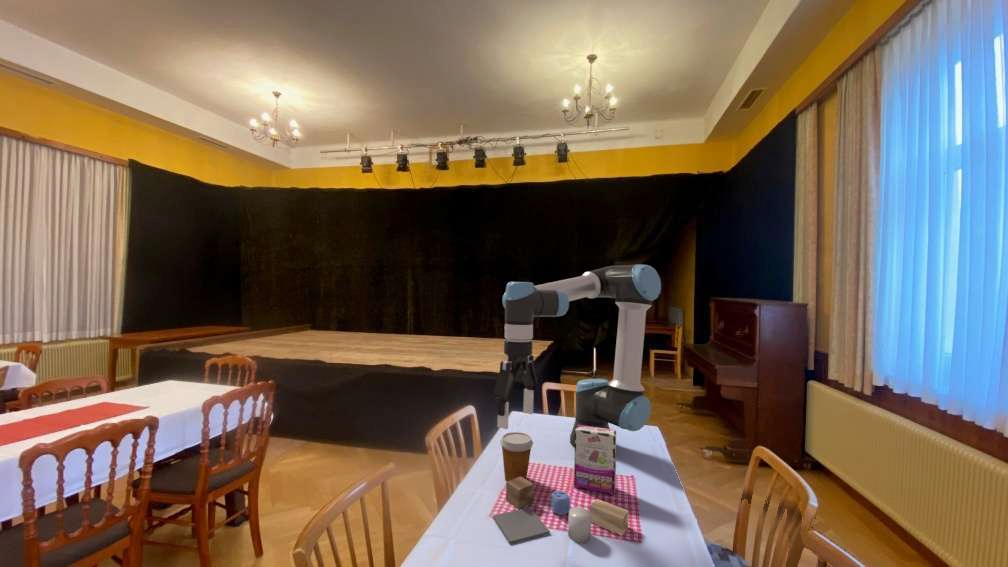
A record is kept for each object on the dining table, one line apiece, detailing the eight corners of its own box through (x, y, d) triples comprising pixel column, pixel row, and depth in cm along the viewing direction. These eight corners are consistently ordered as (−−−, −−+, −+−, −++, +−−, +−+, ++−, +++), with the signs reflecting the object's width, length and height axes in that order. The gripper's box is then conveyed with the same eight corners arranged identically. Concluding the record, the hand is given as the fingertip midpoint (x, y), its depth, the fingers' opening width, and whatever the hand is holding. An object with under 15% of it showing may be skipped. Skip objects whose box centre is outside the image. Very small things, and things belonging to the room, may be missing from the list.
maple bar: (596, 514, 94) (596, 498, 94) (628, 527, 89) (628, 510, 89) (589, 522, 91) (589, 506, 91) (622, 536, 86) (622, 518, 86)
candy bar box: (615, 487, 107) (617, 429, 107) (614, 496, 102) (616, 435, 103) (576, 479, 111) (577, 423, 111) (573, 487, 106) (574, 429, 106)
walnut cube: (520, 494, 102) (520, 476, 102) (532, 503, 98) (533, 484, 98) (505, 500, 99) (506, 481, 99) (518, 510, 95) (518, 490, 95)
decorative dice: (569, 515, 94) (570, 498, 94) (554, 515, 93) (554, 499, 93) (565, 505, 98) (565, 490, 98) (550, 506, 97) (550, 490, 97)
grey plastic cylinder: (582, 526, 89) (582, 505, 89) (595, 540, 84) (595, 517, 84) (564, 531, 87) (564, 510, 87) (576, 545, 82) (576, 522, 82)
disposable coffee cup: (529, 489, 105) (530, 446, 105) (496, 485, 107) (497, 442, 107) (533, 473, 114) (534, 433, 114) (502, 469, 116) (504, 430, 116)
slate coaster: (529, 509, 95) (529, 507, 95) (549, 533, 86) (549, 531, 86) (492, 517, 91) (492, 515, 91) (509, 544, 82) (509, 541, 82)
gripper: (527, 334, 113) (525, 405, 113) (479, 343, 92) (477, 431, 92) (550, 336, 109) (548, 410, 109) (506, 346, 88) (503, 438, 88)
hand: (516, 420), depth 100 cm, fingers open, 13 cm apart
